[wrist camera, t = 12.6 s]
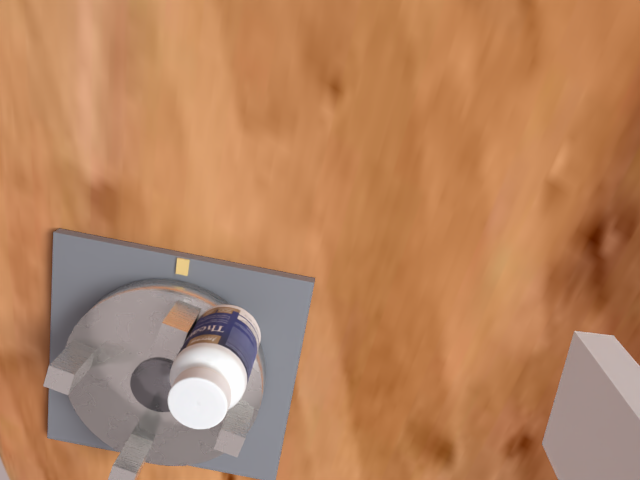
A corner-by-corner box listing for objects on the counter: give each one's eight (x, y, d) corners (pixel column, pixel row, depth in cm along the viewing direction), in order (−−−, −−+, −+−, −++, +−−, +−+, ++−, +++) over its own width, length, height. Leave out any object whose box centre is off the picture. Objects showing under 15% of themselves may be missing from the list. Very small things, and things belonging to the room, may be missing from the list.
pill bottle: (233, 289, 45) (202, 353, 36) (275, 340, 46) (254, 414, 37) (182, 324, 46) (138, 394, 37) (223, 372, 47) (191, 451, 38)
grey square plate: (59, 228, 48) (52, 232, 47) (315, 278, 48) (314, 283, 47) (52, 431, 55) (46, 439, 54) (276, 474, 55) (274, 483, 54)
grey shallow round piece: (57, 408, 52) (17, 456, 46) (103, 248, 47) (64, 279, 41) (230, 471, 54) (213, 526, 47) (294, 323, 48) (285, 363, 42)
